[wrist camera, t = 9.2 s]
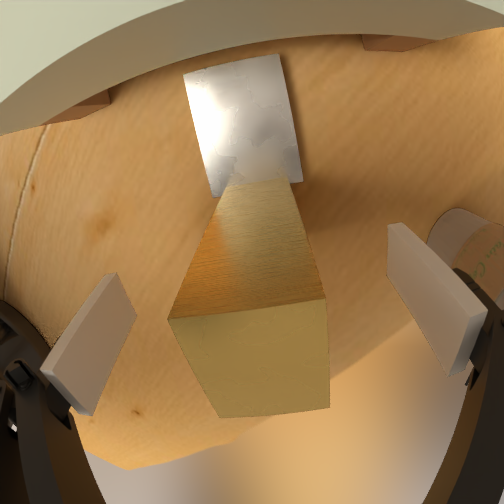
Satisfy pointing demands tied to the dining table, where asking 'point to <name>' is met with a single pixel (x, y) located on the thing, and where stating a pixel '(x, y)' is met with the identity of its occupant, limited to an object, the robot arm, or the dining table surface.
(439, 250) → the coffee cup
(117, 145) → the dining table surface
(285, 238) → the blade tool
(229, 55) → the dining table surface
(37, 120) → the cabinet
